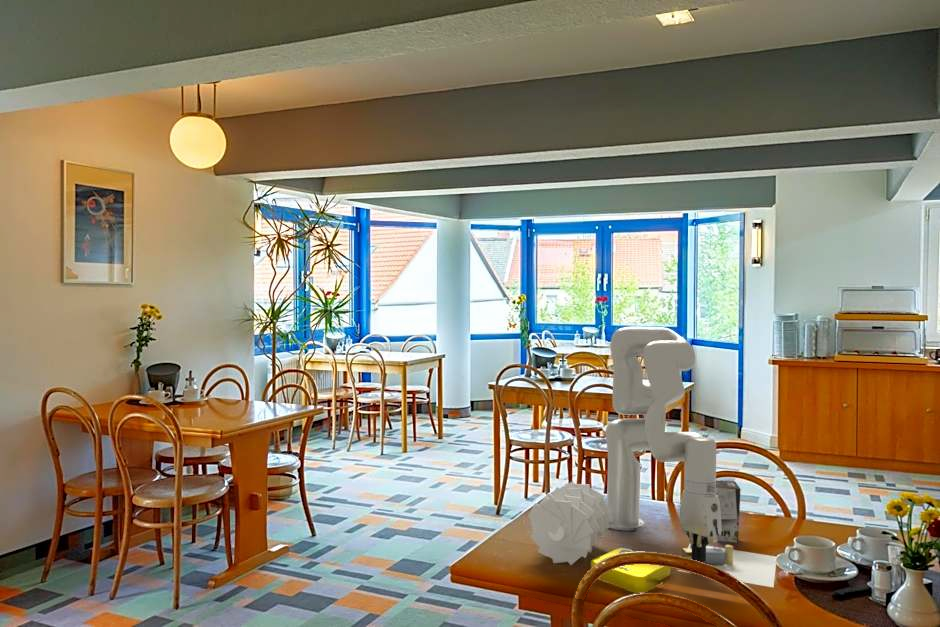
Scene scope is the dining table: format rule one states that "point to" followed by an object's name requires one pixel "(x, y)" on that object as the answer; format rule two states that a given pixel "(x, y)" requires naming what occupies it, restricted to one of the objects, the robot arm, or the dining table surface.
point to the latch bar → (708, 555)
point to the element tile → (633, 574)
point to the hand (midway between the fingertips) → (698, 561)
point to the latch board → (747, 566)
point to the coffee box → (729, 510)
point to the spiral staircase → (569, 522)
